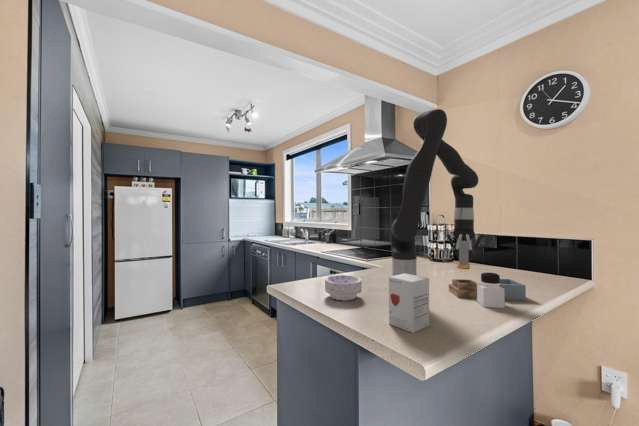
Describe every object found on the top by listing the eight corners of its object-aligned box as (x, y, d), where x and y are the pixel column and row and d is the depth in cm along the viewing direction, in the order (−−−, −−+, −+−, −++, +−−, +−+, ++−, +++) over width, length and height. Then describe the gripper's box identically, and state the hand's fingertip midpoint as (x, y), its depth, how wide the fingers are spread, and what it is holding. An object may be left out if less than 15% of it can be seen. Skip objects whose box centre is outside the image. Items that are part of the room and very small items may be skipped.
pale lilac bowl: (338, 305, 105) (338, 284, 105) (318, 295, 118) (318, 277, 118) (369, 299, 113) (369, 280, 113) (347, 290, 126) (347, 273, 126)
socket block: (457, 297, 115) (457, 284, 115) (448, 290, 125) (448, 278, 125) (482, 297, 114) (482, 284, 114) (472, 291, 124) (472, 279, 124)
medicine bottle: (505, 308, 101) (504, 275, 101) (483, 307, 103) (483, 274, 103) (496, 302, 108) (496, 271, 108) (476, 301, 110) (476, 271, 110)
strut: (470, 269, 117) (470, 241, 117) (457, 268, 119) (457, 240, 119) (469, 267, 121) (469, 240, 121) (457, 266, 123) (457, 239, 123)
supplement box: (387, 324, 87) (387, 276, 87) (405, 317, 93) (404, 272, 93) (413, 333, 80) (412, 281, 80) (430, 326, 85) (429, 277, 86)
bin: (496, 299, 112) (496, 284, 112) (483, 291, 123) (483, 278, 123) (525, 300, 111) (525, 285, 111) (510, 292, 122) (509, 278, 122)
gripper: (445, 218, 120) (445, 258, 120) (483, 218, 114) (483, 260, 114) (446, 218, 127) (445, 256, 126) (482, 218, 120) (481, 258, 120)
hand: (463, 258), depth 120 cm, fingers closed on strut, 3 cm apart
